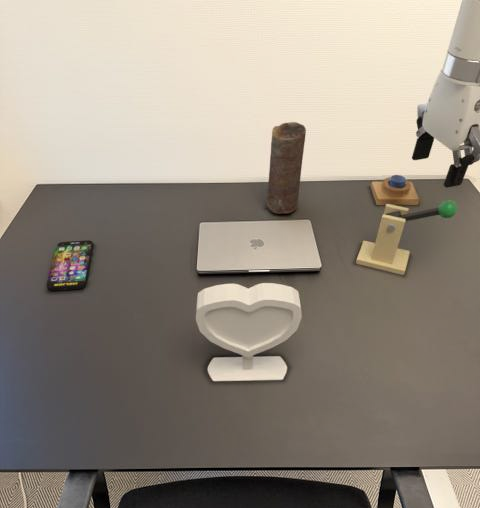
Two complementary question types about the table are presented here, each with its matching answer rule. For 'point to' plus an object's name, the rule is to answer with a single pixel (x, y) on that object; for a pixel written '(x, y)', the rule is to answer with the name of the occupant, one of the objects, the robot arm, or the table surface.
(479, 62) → the robot arm
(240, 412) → the table surface
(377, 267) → the switch bracket
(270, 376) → the heart sculpture
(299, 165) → the rusty metal cylinder
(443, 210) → the lever
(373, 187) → the button block
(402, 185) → the button
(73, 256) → the smartphone
